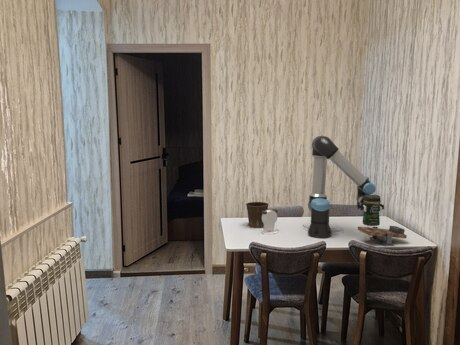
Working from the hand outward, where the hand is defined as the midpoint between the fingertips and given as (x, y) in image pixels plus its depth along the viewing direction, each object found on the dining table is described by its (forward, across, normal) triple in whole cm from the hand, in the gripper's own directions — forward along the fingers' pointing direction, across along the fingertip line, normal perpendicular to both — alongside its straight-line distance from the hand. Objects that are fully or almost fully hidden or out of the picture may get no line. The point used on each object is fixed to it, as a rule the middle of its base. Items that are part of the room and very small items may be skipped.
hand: (373, 209), depth 230 cm
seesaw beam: (-7, -7, -16) cm, 19 cm away
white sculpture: (-20, +63, -22) cm, 69 cm away
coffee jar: (-5, 0, -11) cm, 12 cm away
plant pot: (-35, +72, -21) cm, 83 cm away
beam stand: (-7, -7, -22) cm, 24 cm away
